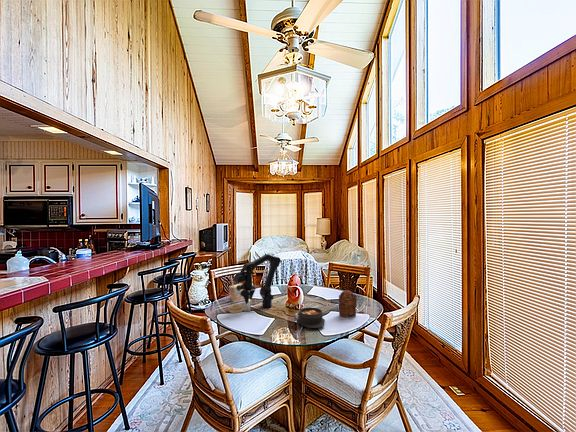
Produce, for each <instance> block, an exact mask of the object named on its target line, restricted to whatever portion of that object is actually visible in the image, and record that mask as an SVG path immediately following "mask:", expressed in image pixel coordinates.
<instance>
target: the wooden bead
mask: <svg viewBox="0 0 576 432" xmlns="http://www.w3.org/2000/svg"><path fill="white" fill-rule="evenodd" d="M243 310H244V307H243V304H241V303H233V304H232V303H231V304H230V305H229V306H228V312H229V313H232V314H239V313H242V312H243Z"/></svg>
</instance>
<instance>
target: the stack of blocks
mask: <svg viewBox="0 0 576 432" xmlns="http://www.w3.org/2000/svg"><path fill="white" fill-rule="evenodd" d="M242 284H243V283H235V284H234V285H229V286H228V295H229V296H228V301H229V302H232V303H236V302H239V301H243V300H245V299H244V297H243V296H241V295H240V292H241V291H243V289H242V290H239V291H238V290H237V286H238V285H242Z"/></svg>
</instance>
